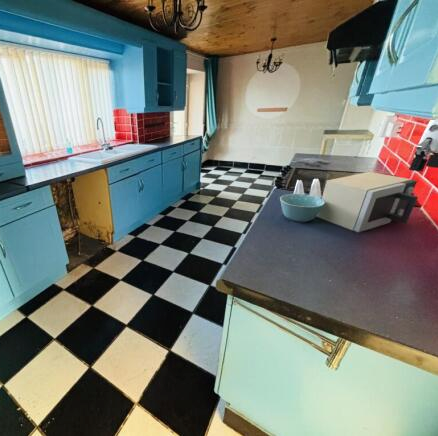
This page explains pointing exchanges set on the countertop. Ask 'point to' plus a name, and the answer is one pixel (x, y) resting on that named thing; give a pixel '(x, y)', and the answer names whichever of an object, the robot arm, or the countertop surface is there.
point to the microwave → (357, 196)
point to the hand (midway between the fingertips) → (424, 168)
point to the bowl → (301, 206)
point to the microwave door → (384, 207)
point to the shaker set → (314, 190)
